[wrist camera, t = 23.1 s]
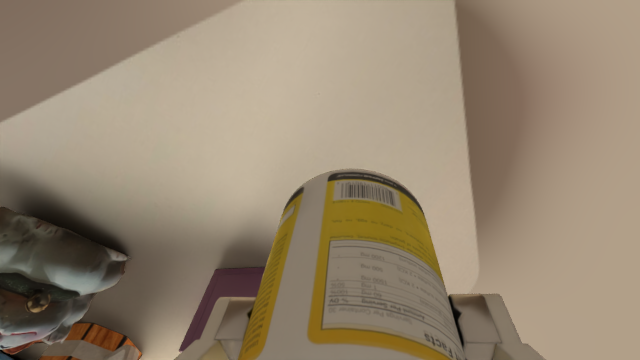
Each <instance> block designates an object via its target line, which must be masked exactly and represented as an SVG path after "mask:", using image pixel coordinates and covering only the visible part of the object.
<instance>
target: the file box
mask: <svg viewBox="0 0 640 360" xmlns="http://www.w3.org/2000/svg"><path fill="white" fill-rule="evenodd" d="M265 268H266V267H260V268H233V269H216V270H215V272H214V274H213V276H212V278H211V280H210V283H209V285H208V287H207V289H206V291H205V294H204V296H203V298H202V300H201V302H200V305H199V307H198V309H197V311H196V313H195V316H194V318H193V320H192V322H191V324H190V327H189V329H188V331H187V333H186V336H185V338H184V340H183V342H182V344H181V347H180V349H179V352H180V353H182V352H183V351H184V350H185V349H186V348H187V347H188V346H189V345H191V344H192V343H193V342H194V341H195V340H200V337H201V335H202V333H203V331H204V328H205V326H206V324H207V321H208V319H209V317H210V314H211V312H212V310H213V308H214V305H215V303H216V301H217V300H218V299H219V298H220V297H257V294H258V291H259V287H260V284H261V281H262V277H263V274H264V271H265Z"/></svg>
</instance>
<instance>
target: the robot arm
mask: <svg viewBox="0 0 640 360" xmlns="http://www.w3.org/2000/svg"><path fill="white" fill-rule="evenodd" d="M448 299H449V303H450V306H451V310H452V313H453V317H454V320H455V324H456V327H457V331H458V334H459V338H460V341H461V345H462V348H463V352H464V356H465V359H466V360H546V359H545V358H543V357H542V356H541V355H540V354H539V353H538V352H536V351H535V350H534V349H533V348H532V347H531V346H529V345H528V344H522V342H521V340H520V337H519V335H518V333H517V331H516V328H515V326H514V324H513V322H512V319H511V317H510V315H509V313H508V310H507V308H506V306H505V304H504V301H503V299H502V297H501V296H500V295H499V294H450V295H449V296H448ZM255 301H256V297H220V298H219V299H218V300H217V301H216V303H215V305H214V308H213V310H212V312H211V314H210V317H209V319H208V321H207V324H206V326H205V328H204V331H203V333H202V335H201V337H200V340H195V341H194V342H193V343H192V344H191V345H189V346H188V347H187V348H186V349H185V350H184V351H183V352H182V353H181V354H180V355H179V356H178V357H176V358H175V359H174V360H238V357H239V353H240V350H241V347H242V344H243V340H244V337H245V334H246V330H247V327H248V324H249V321H250V317H251V314H252V311H253V307H254V304H255Z"/></svg>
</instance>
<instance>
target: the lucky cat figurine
mask: <svg viewBox="0 0 640 360" xmlns="http://www.w3.org/2000/svg"><path fill="white" fill-rule="evenodd" d="M125 260H131V258H129V257H128V255H124V254H122V253H120V252H118V251H115V250H112V249H110V248H107V247H104V246H102V245H99V244H97V243H95V242H93V241H90V240H88V239H86V238H84V237H82V236H80V235H78V234H76V233H74V232H72V231H70V230H68V229H66V228H61V227H57V226H55V225H52V224H50V223H48V222H45V221H42V220H40V219H37V218H36V217H32V216H29V215H25V214H22V213H18V212H15V211H12V210H10V209H8V208H5V207H0V349H2V350H3V351H4V352H6V353H9V354H11V355H12V354H15V353H17V352H19V351H21V350H23V349H25V348H28V347H29V346H30V345H32V344H34V343H46V344H48V345H49V346H50V345H51V344H53V343H54V342H61V344H62V343H63V341H64V340H65V339H66V338H67V336H68V334H69V332H70V330H71V328H72V325H73V324H74V323H75V322H77V321H79V320H80V319H81V318H82V317H83V315H84V314H85V313H86V312H87V311H88V309H89V305H90V302H91V300H92V299H93V297H94V296H95V294H96V293H97V292H99V291H103V290H105V289H107V288H111V287H112V286H114V285H116V284H117V283H118V282H119V280H120V279H121V276H122V275H123V274H124V273H125V271H124V269H125Z"/></svg>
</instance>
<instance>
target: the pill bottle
mask: <svg viewBox="0 0 640 360" xmlns="http://www.w3.org/2000/svg"><path fill="white" fill-rule="evenodd" d="M238 360H466V359H465V356H464V352H463V348H462V345H461V341H460V338H459V334H458V331H457V327H456V324H455V320H454V317H453V313H452V310H451V306H450V303H449V299H448V296H447V292H446V288H445V285H444V281H443V278H442V274H441V271H440V267H439V264H438V260H437V257H436V253H435V250H434V246H433V243H432V239H431V236H430V232H429V228H428V225H427V222H426V219H425V216H424V213H423V210H422V208H421V206H420V204H419V203H418V201H417V199H416V198H415V197H414V195H413V194H412V193H411V192H410V191H409V190H408V189H407V188H406V187H404V186H403V185H402V184H400V183H399V182H398V181H396V180H394V179H392V178H390V177H388V176H386V175H383V174H381V173H377V172H373V171H369V170H362V169H341V170H335V171H330V172H327V173H324V174H321V175H318V176H316V177H314V178H312V179H310V180H309V181H307V182H306V183H304V184H303V185H302V186H300V187H299V188H298V189H297V190H296V191H295V192H294V194H293V195H292V196H291V197H290V199H289V200H288V202H287V204H286V206H285V208H284V211H283V214H282V216H281V219H280V223H279V226H278V229H277V233H276V236H275V239H274V242H273V245H272V249H271V252H270V255H269V258H268V261H267V265H266V268H265V271H264V274H263V277H262V281H261V284H260V287H259V291H258V294H257V297H256V301H255V304H254V307H253V311H252V314H251V317H250V321H249V324H248V327H247V330H246V334H245V337H244V340H243V344H242V347H241V350H240V353H239V357H238Z"/></svg>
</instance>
